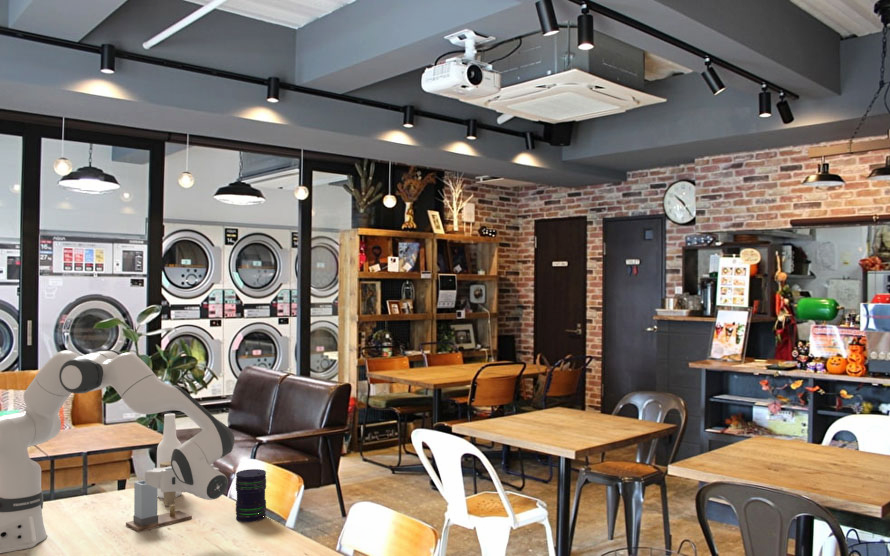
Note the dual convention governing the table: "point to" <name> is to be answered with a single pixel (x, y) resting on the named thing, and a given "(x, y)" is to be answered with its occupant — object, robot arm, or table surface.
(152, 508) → the sleeve
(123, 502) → the table surface
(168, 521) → the pin board
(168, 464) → the handle
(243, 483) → the black cylinder
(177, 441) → the alcohol
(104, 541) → the table surface
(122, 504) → the table surface
